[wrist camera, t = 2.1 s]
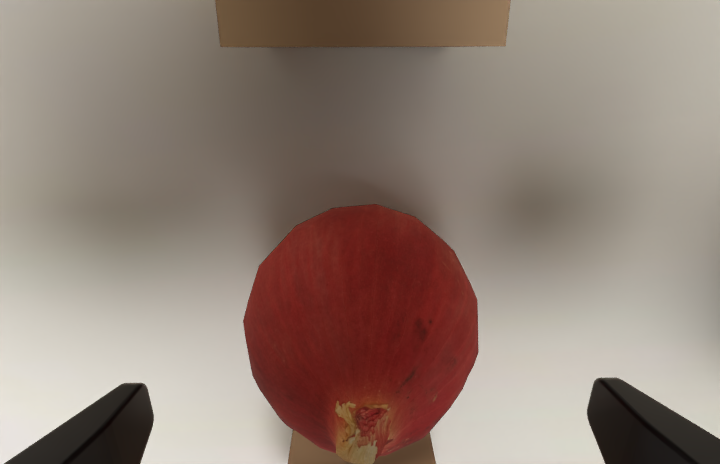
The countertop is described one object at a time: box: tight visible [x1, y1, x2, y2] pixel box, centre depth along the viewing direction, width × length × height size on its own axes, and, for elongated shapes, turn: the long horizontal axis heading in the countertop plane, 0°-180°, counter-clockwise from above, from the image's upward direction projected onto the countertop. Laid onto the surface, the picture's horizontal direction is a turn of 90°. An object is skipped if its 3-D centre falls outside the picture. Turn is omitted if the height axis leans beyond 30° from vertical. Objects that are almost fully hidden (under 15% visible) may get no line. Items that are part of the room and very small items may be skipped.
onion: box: [243, 204, 478, 464], centre depth 11 cm, size 6×6×8 cm
